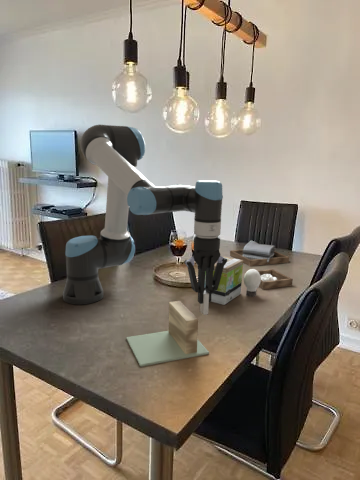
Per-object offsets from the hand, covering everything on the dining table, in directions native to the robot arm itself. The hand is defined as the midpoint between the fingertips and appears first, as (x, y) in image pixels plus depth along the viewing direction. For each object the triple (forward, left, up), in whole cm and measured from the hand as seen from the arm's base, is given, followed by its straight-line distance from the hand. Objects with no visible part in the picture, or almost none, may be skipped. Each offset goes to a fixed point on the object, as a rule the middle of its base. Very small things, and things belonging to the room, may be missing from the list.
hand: (203, 312), depth 111 cm
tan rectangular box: (-7, 0, -8) cm, 11 cm away
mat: (-12, 0, -9) cm, 15 cm away
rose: (+49, +38, -9) cm, 63 cm away
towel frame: (+67, +74, -9) cm, 100 cm away
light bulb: (+34, +28, -9) cm, 45 cm away
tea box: (+22, +30, -9) cm, 38 cm away
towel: (+67, +74, -9) cm, 100 cm away
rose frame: (+50, +40, -9) cm, 65 cm away
